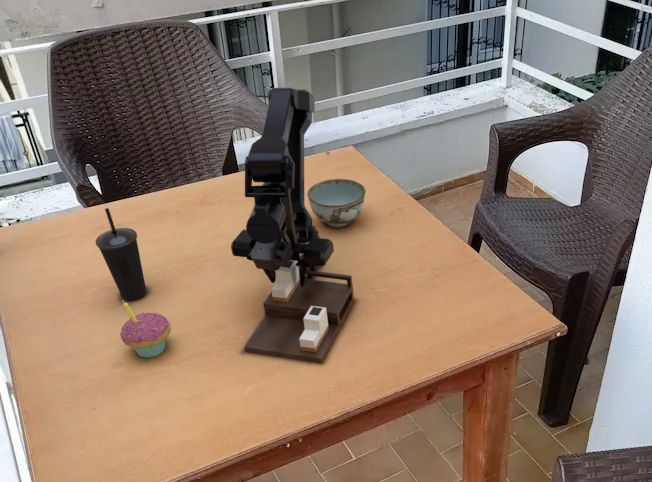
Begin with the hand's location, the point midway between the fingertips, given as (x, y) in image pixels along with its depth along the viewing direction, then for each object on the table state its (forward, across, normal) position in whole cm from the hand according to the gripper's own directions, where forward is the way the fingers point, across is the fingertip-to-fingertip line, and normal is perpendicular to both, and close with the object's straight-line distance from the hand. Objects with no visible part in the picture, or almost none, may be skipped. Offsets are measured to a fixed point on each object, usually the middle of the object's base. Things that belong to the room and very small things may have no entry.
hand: (288, 283), depth 135 cm
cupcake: (+5, -20, -18) cm, 28 cm away
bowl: (+5, -2, +34) cm, 34 cm away
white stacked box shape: (+4, +9, -10) cm, 14 cm away
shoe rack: (+5, +4, -6) cm, 9 cm away
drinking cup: (+5, -34, -3) cm, 34 cm away
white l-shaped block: (+1, 0, -1) cm, 1 cm away
